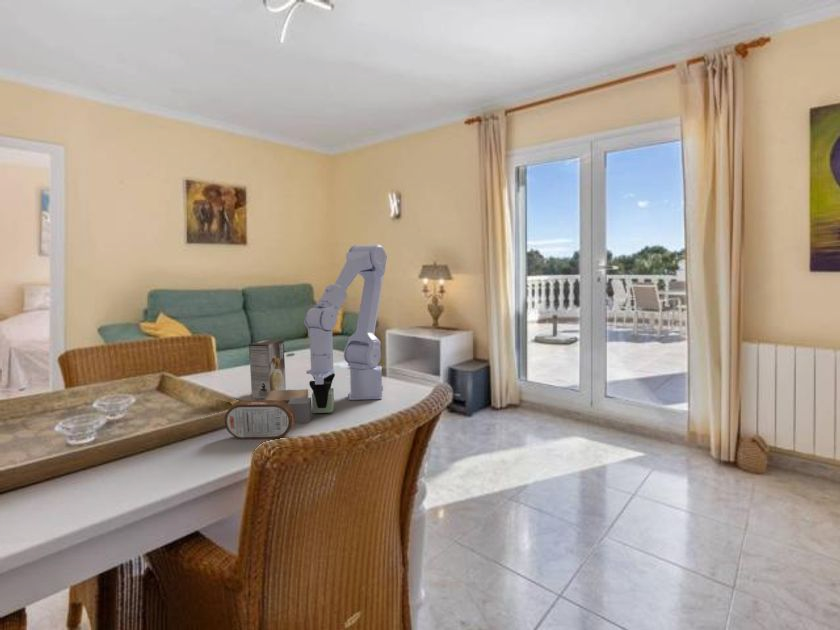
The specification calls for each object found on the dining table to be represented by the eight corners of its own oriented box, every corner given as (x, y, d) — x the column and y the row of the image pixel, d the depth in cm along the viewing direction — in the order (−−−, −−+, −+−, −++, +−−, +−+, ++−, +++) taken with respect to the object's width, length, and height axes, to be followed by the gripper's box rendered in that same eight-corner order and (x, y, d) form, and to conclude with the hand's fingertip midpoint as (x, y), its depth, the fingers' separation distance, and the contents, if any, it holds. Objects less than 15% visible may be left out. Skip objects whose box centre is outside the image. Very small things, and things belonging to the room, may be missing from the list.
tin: (295, 434, 105) (294, 398, 104) (292, 439, 102) (291, 402, 101) (229, 435, 104) (227, 399, 103) (223, 441, 101) (221, 403, 100)
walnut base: (308, 403, 130) (308, 389, 129) (304, 414, 120) (303, 399, 119) (271, 404, 128) (271, 390, 128) (264, 416, 118) (264, 401, 118)
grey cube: (311, 416, 117) (311, 397, 117) (309, 423, 112) (308, 403, 112) (291, 417, 117) (291, 398, 116) (288, 424, 112) (287, 404, 111)
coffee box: (267, 389, 142) (265, 338, 140) (286, 390, 141) (284, 339, 139) (250, 398, 133) (248, 343, 131) (271, 399, 132) (268, 344, 130)
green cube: (334, 406, 124) (333, 388, 123) (332, 412, 119) (331, 393, 118) (315, 407, 123) (314, 388, 123) (312, 413, 118) (311, 394, 118)
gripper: (310, 348, 126) (311, 396, 127) (301, 359, 112) (303, 413, 113) (336, 348, 127) (337, 396, 128) (330, 358, 112) (332, 412, 114)
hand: (323, 404), depth 121 cm, fingers closed on green cube, 5 cm apart
